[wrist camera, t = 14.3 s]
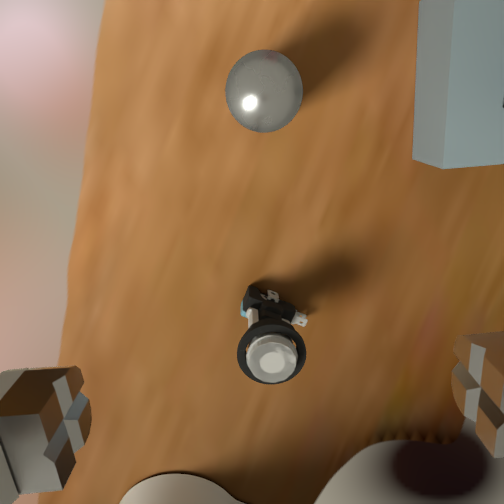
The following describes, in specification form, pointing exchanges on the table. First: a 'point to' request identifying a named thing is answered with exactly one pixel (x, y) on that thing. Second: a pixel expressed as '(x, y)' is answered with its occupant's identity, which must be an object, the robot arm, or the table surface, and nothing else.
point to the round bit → (264, 91)
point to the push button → (270, 338)
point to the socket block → (459, 83)
